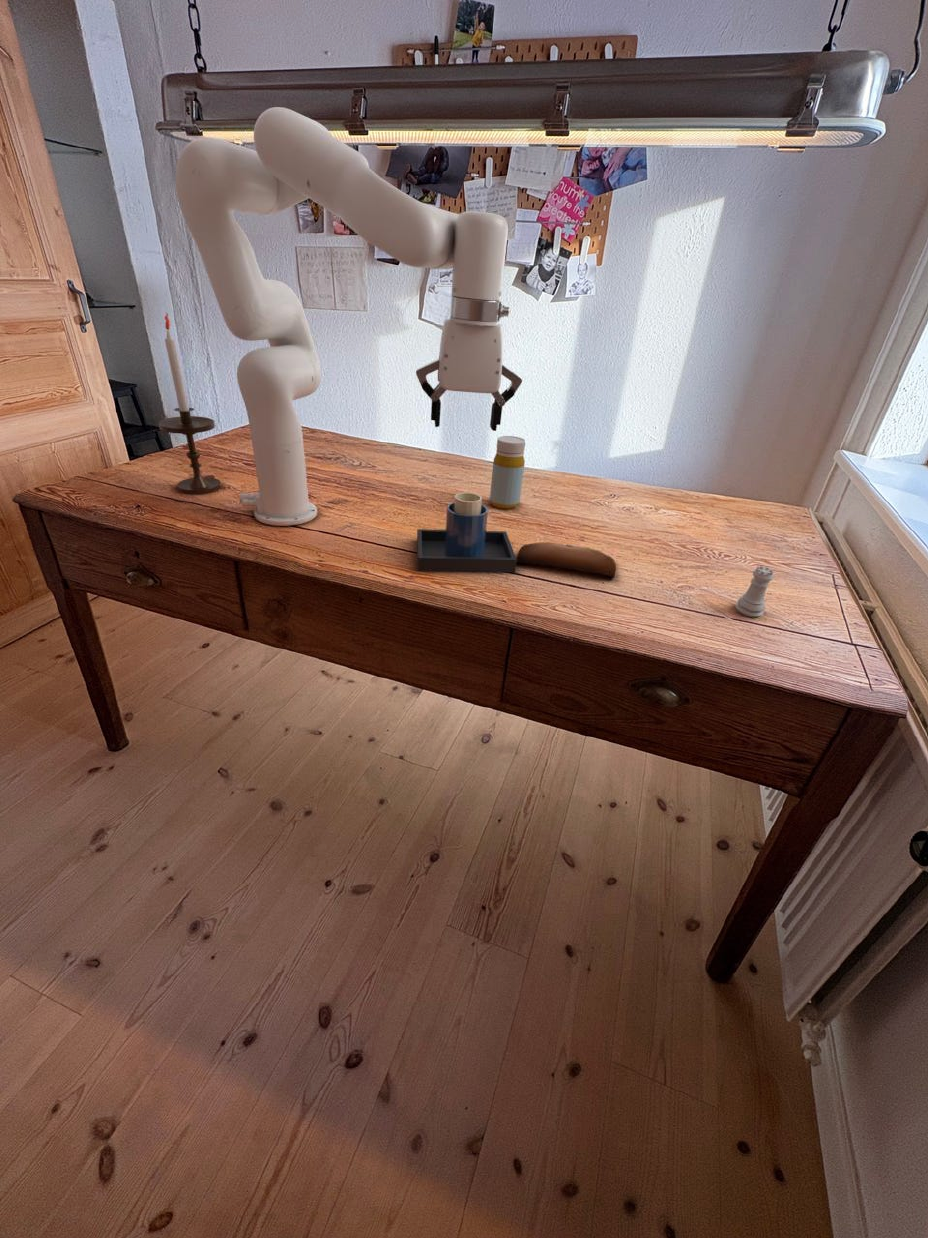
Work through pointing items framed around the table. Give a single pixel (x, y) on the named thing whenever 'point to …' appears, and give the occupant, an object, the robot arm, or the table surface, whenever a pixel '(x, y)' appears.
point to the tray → (494, 559)
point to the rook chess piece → (755, 593)
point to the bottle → (507, 472)
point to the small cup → (467, 504)
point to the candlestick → (187, 425)
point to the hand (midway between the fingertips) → (465, 426)
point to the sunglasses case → (567, 557)
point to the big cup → (465, 533)
